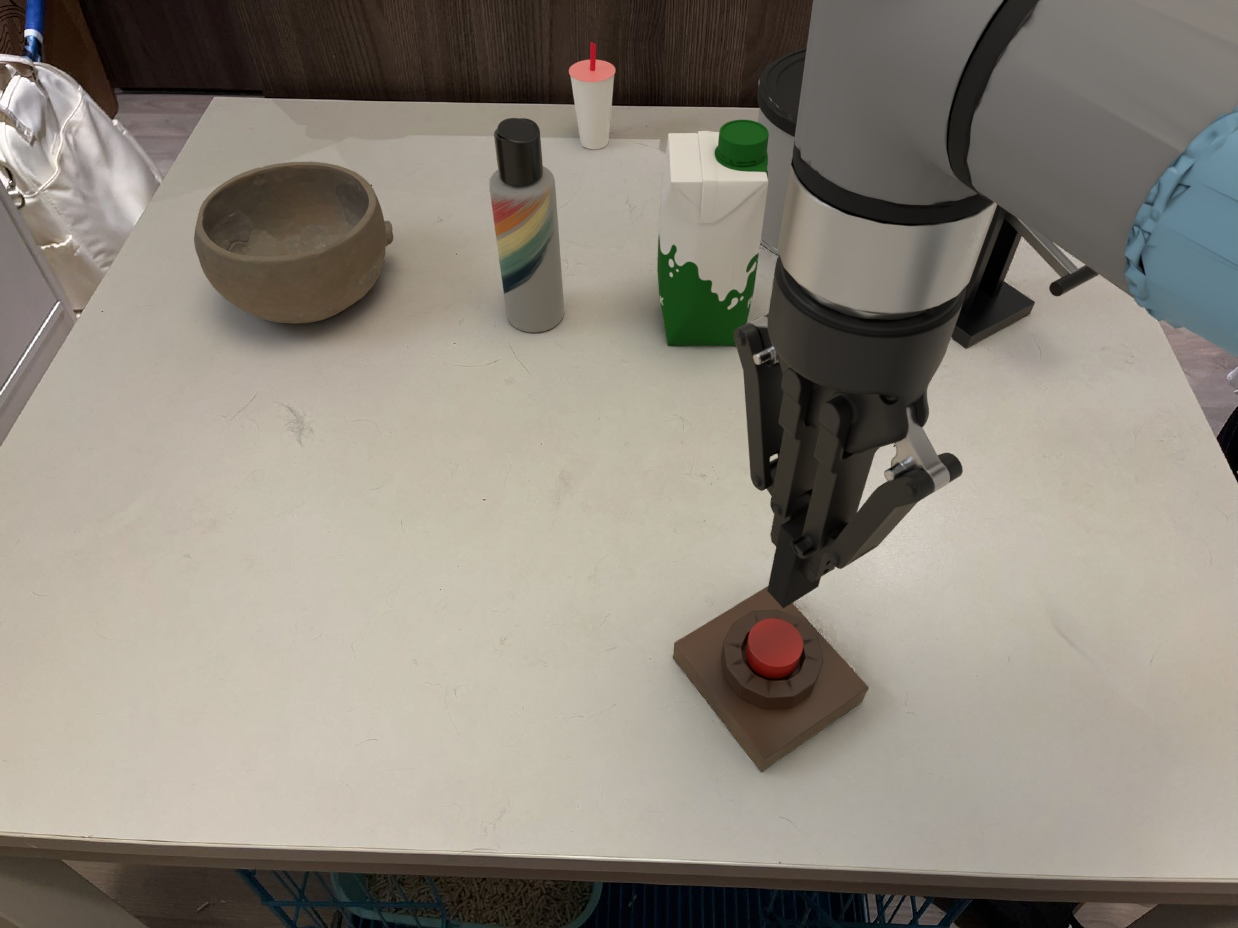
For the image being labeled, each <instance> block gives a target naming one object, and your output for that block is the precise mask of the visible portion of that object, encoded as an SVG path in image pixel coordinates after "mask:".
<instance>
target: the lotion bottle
mask: <svg viewBox="0 0 1238 928" xmlns="http://www.w3.org/2000/svg"><path fill="white" fill-rule="evenodd" d="M493 139H494V147H495V154H496V162H497V169H496V170H495V171H493V173H492V175H491V176H490V177H489V181H488V182H489V186H488V187H489V195H490V203H491V209H492V210H491V211H492V218H493V225H494V232H495V239H496V246H497V253H498V262H499V268H500V269H499V270H500V276H501V283H502V290H503V299H504V305H505V310H506V317H507V319H508V322H509V323H510V325H512V326H513V327H514V328H516V329H517V330H519V331H522V332H526V333H534V334H535V333H543V332H547V331H549V330H551V329H554V328H555V327H557V326H558V325H559V324H560V322H562V319H563V317H564V315H565V314H564V313H565V303H564V302H565V301H564V287H563V273H562V272H563V271H562V259H561V242H560V232H559V231H560V229H559V217H558V216H559V215H558V203H557V189H556V180H555V176H554V173H553V172H552V171H551V170H550V169H549V168H548V167H546V166H544V163H543V152H542V151H543V150H542V140H541V129H540V127H539V125H538V124H537V122H536V121H534V120H532V119H531V118H527V117H509V118H505V119H503V120H500V122H499V123H498V125H497V128H496V129H494V132H493Z"/></svg>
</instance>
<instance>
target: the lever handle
mask: <svg viewBox="0 0 1238 928" xmlns="http://www.w3.org/2000/svg"><path fill="white" fill-rule="evenodd" d="M1004 218H1005V219H1006V220H1007V221H1008V222H1009V223H1010V224H1011V225H1012V226H1013V227H1014V228H1015V230H1016V231H1017V232H1018V233H1019V234H1020V235H1021V236H1022V237H1021V238H1023V239H1024V241H1026V243H1028V245H1030V247H1031V248H1032V249H1033V250H1034V251H1035V252H1036V253H1037V254H1038V256H1040V257H1041V258H1042V259H1043V260H1044V261H1045V262H1046V264H1047V265H1049V267H1050V268H1051V269H1052V270H1053V271H1054V272H1055V273H1056V274H1057V275H1058V276H1059V277H1060V278H1058V279H1056V280H1054V281H1052V282H1051V283H1050V284H1049V287H1048V289H1049V292H1050V294H1051V295H1052V296H1054V297H1062V296H1063V295H1064V294H1066V293H1068V292H1070V291H1072V290H1074V289H1075V288H1077V287H1079V286H1081V285H1083V284H1086V283H1087V282H1089V281H1090V280H1093V279H1094V278H1096V277H1098V276H1100V275H1099V274H1098V273H1096V272H1095V271H1094V270H1092V269H1091V268H1089V267H1088V266H1086V265H1085V264H1083V265H1082V266H1080V267H1077V266H1076V265H1075V264H1074V263H1073V261H1072V260H1071V259H1070V258H1069V257H1067V255H1066V254H1065V253H1064V252H1063V251H1062V250H1061V249H1060V247H1059V246H1058V245H1056V244H1055V243H1053V242H1052V241H1051V240H1049V239H1048V238H1046V237H1045V236H1043V235H1042V234H1041V233H1039V232H1038V231H1036V230H1035V229H1033V228H1032V227H1030V226H1029V225H1027V224H1026V223H1024V222H1023V221H1021V220H1020V219H1018V218H1017V217H1015V216H1014V215H1012V214H1011V213H1010V212H1008V211H1007V212H1006V215H1005V217H1004Z"/></svg>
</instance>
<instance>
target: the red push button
mask: <svg viewBox="0 0 1238 928" xmlns="http://www.w3.org/2000/svg"><path fill="white" fill-rule="evenodd" d="M802 650H803V640H802V637H801V635H800V633H799V632H798V630H797V629H796V628H795V627H794V626H793V625H792V624H790V623H788V622H787V621H784V620H781V619H776V618H769V619H764V620H762V621H760V622H758V623H757V624H755V625H754V626H753V627H752V629H751V630H750V633H749V636H748V641H747V646H746V659H747V661H748V663H749V665H750V666H751V668H752V669H753V670H754V671H755V672H756V673H758V674H759V675H761V676H763V677H766V678H770V679H780V678H784V677H787V676H789V675H790V674H792V673H793V672H794V671H795V669H796V668H797V666H798V663H799V660H800V657H801V654H802Z"/></svg>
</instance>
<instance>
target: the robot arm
mask: <svg viewBox="0 0 1238 928" xmlns="http://www.w3.org/2000/svg"><path fill="white" fill-rule="evenodd" d="M806 48H807V51H806V58H805V65H804V73H803V80H802V88H801V95H800V102H799V110H798V117H797V125H796V132H795V139H794V146H793V156H792V162H791V167H790V174H789V180H788V186H787V192H786V198H785V204H784V210H783V216H782V222H781V228H780V234H779V241H778V247H777V249H778V252H779V255H777V259H776V261H775V267H774V273H773V280H772V287H771V294H770V301H769V307H768V313H767V314H765V315H762V316H760V317H757V318H756V319H754V320H752V321H750V322H747V324H745V325H743V326H741V327H739V328H737V329H735V330H734V340H735V344H736V346H735V348H736V351H737V354H738V357H739V361H740V364H741V367H742V373H743V385H744V386H743V387H744V401H745V403H744V404H745V417H746V430H747V431H746V432H747V445H748V459H749V473H750V474H749V475H750V480H751V482H752V485H753V486H754V487H755V488H756V489H757V490H758V491H760V492H762V491H765V490H767V493H769V495H770V496H771V498H770V501H769V503H770V506H769V507H770V509H771V511H772V514H773V519H772V524H771V529H770V535H769V536H770V541H771V544H773V545H774V547H775V550H774V556H773V560H772V566H771V571H770V574H769V580H768V584H767V586H768V589H767V591H768V592H769V593H770V594H771V595H772V597H773V598H774V599H775V600H776V601H777V602H778V603H779V604H780V605H781V607H782V608H785V607H787V606H788V605H790V604H791V603H793V604H794V603H795V602H796V601H798V600H799V599H802V598H803V597H804V596H806V595H808V594H809V593H811V592H813V591H814V590H816V589H817V588H819V586H820V581H821V579H822V577H823V576H825V575H827V574H828V573H830V572H832V571H833V570H835V569H838V570H842V569H844V568H845V567H847V566H849V565H851V564H852V563H853V562H855V561H857V560H859V559H860V558H862V557H863V556H865V555H867V554H869V553H870V552H871V551H873V550H875V549H876V548H877V547H880V545H881V544H882V543H883V541H884V540H885V539H886V538H887V537H888V536H889V534H891V533H892V531H893V530H894V529H895V528H896V527H897V526H898V525H899V524H900V523H901V521H902V520H903V519H904V518H905V517H906V516H907V515H908V514H909V513H910V511H912V509H913V508H914V507H915V506H916V505H917V503H919V502H920V501H922V500H924V499H925V498H927V497H929V496H930V495H932V494H934V493H935V492H937V491H938V490H940V489H942V488H943V487H945V486H947V485H948V484H950V483H952V482H953V481H955V480H956V479H958V478H960V477H961V476H962V475H963V472H964V471H963V465H962V462H961V461H960V459H959V458H958V456H956V455H955V454H953V453H951V452H942V453H939V454H937V452H936V450H935V448H934V446H933V445H932V442H931V441H930V438H929V437H928V435H927V433H926V431H925V430H924V427H925V425H926V424H927V422H928V420H929V416H930V408H929V402H928V401H929V399H928V388H929V385H930V383H931V381H932V379H933V378H934V377H935V374H936V373H937V372H938V370H939V368H940V366H941V364H942V362H943V360H944V358H945V355H946V353H947V349H948V348H949V344H950V342H951V339H952V337H951V336H952V333H953V330H954V328H955V325H956V322H957V319H958V316H959V313H960V310H961V308H962V305H963V302H964V299H965V294H966V285H967V284H968V283H969V281H970V279H971V276H972V273H973V270H974V268H975V265H976V262H977V259H978V256H979V254H980V251H981V248H982V245H983V243H984V240H985V237H986V234H987V231H988V229H989V226H990V223H991V220H992V218H993V215H994V212H995V209H996V206H997V204H998V205H999V206H1001V207H1002V208H1004V209H1005V210H1007V211H1008V212H1010V213H1011V214H1012V215H1014V216H1015V217H1017V218H1018V219H1020V220H1021V221H1023V222H1024V223H1026V224H1027V225H1029V226H1030V227H1032V228H1033V229H1035V230H1036V231H1038V232H1039V233H1041V234H1042V235H1043V236H1045V237H1046V238H1048V239H1049V240H1051V241H1052V242H1053V243H1054V244H1055V245H1056V246H1057V247H1058V248H1061V249H1062V250H1064V252H1066V253H1067V254H1069V255H1071V256H1072V257H1073V258H1074V259H1076V260H1078V261H1079V262H1081V263H1082V264H1083V265H1086V266H1088V267H1089V268H1091V269H1092V270H1094V271H1095V272H1096V273H1098V274H1099V275H1098V276H1101V277H1102V278H1104V279H1105V280H1107V282H1109V283H1111V284H1112V285H1114V286H1115V287H1117V288H1118V289H1119V290H1121V291H1122V292H1124V293H1125V294H1127V295H1128V296H1129V297H1131V298H1132V299H1133V301H1134V302H1135V304H1137V305H1138V306H1139V308H1143V309H1144V310H1145V311H1146V312H1147V314H1148V315H1149V316H1151V317H1152V318H1153V319H1155V320H1156V321H1158V322H1161V321H1163V322H1165V323H1166V324H1167V325H1169V326H1171V327H1172V328H1174V329H1183V328H1184V329H1186V330H1188V331H1189V332H1191V333H1193V334H1195V335H1196V336H1198V337H1200V338H1202V339H1203V340H1205V341H1207V342H1209V343H1211V344H1212V345H1214V346H1216V347H1217V348H1219V349H1221V350H1222V351H1224V352H1226V353H1228V354H1229V355H1232V356H1233V357H1235V358H1237V359H1238V0H812V7H811V14H810V21H809V27H808V36H807V44H806ZM892 444H894V446H895V450H896V452H895V455H894V456H893V457H892V458H891V460H890V467H889V468H887V469H886V470H884V471H883V476H884V478H885V480H886V481H885V482H883V483H882V484H881V485H878V486H877V487H876V488H875V489H874V490H873V491H872V493H871V494H870V495H869V496H868V498H867V499H866V500H865V502H864V503H863V504H862V505H861V507H860V504H861V501H862V497H863V495H864V490H865V488H866V484H867V481H868V477H869V474H870V471H871V468H872V464H873V461H874V459H875V458H874V457H875V455H876V453H877V452H878V450H879V449H880V448H883V447H886V446H889V445H892ZM775 455H777V457H776V458H773V459H772V460H771V457H773V456H775ZM859 507H860V508H859Z"/></svg>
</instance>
